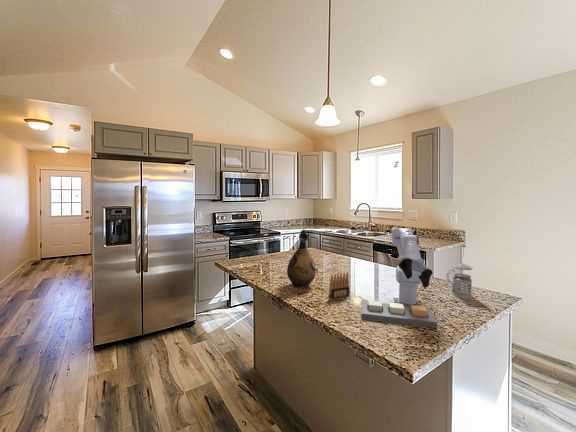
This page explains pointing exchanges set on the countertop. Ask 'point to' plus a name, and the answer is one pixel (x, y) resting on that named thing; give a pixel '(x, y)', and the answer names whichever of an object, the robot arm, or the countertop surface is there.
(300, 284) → the ceramic jug
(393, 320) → the keypad
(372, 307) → the sage key
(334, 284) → the ammunition clip
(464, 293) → the french press
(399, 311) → the white key
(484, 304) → the countertop surface
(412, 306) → the orange key
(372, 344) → the countertop surface
